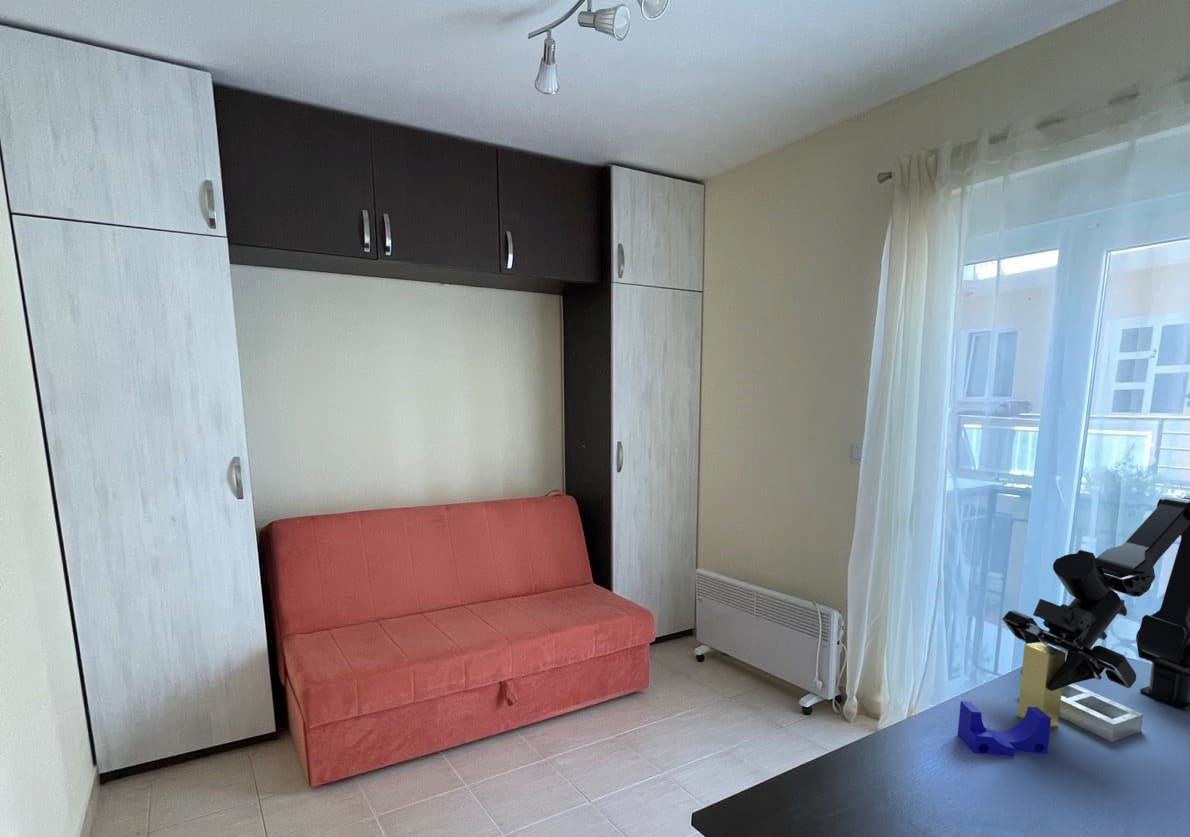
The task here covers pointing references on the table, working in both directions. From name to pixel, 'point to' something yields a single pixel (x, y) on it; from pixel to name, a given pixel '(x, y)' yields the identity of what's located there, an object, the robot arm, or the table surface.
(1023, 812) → the table surface
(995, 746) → the cable clip
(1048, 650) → the brass peg
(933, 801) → the table surface
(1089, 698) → the metal frame
